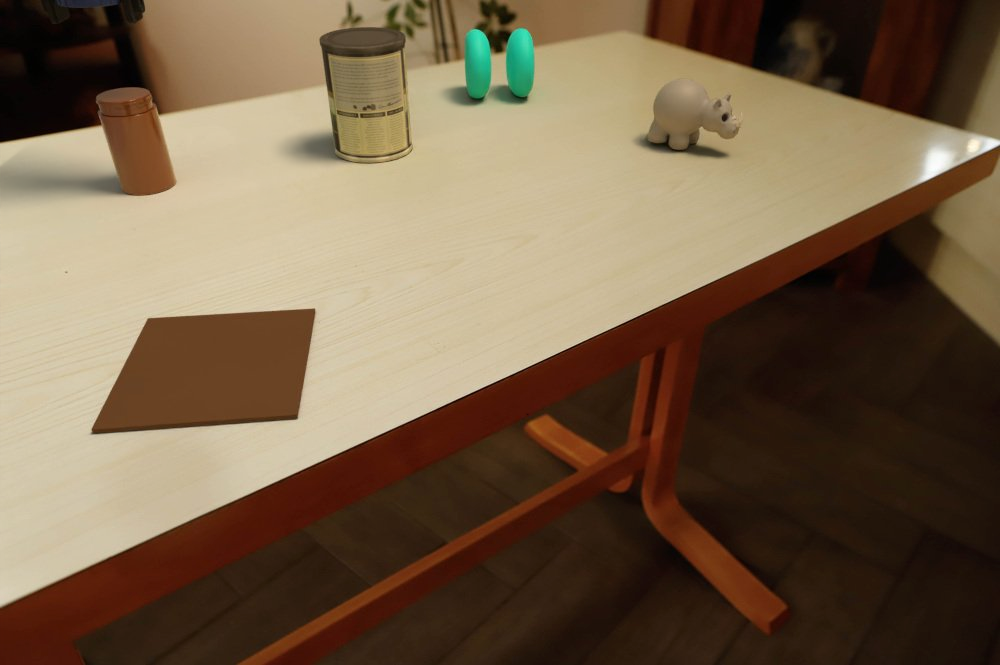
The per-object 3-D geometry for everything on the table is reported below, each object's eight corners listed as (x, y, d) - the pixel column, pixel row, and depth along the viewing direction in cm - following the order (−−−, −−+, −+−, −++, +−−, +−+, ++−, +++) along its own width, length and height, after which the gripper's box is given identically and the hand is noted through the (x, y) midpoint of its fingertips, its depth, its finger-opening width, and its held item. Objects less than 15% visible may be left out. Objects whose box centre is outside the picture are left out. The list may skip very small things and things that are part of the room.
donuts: (464, 88, 118) (463, 22, 112) (525, 86, 119) (526, 21, 113) (469, 107, 110) (468, 38, 104) (534, 105, 110) (536, 36, 105)
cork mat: (92, 433, 50) (90, 429, 50) (149, 321, 62) (147, 317, 61) (297, 418, 52) (296, 414, 51) (315, 312, 63) (315, 308, 63)
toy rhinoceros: (722, 166, 91) (735, 98, 86) (638, 144, 97) (646, 80, 92) (745, 150, 95) (759, 85, 90) (664, 130, 101) (673, 68, 96)
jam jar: (115, 196, 82) (85, 104, 76) (129, 176, 87) (101, 87, 81) (170, 193, 83) (145, 101, 77) (180, 173, 88) (157, 85, 82)
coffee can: (319, 147, 95) (303, 35, 87) (383, 130, 101) (374, 22, 93) (362, 170, 89) (349, 51, 81) (428, 150, 95) (422, 37, 87)
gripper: (152, -190, 68) (194, 13, 78) (-44, -194, 67) (25, 13, 77) (126, -192, 62) (175, 28, 72) (-90, -197, 60) (-8, 29, 71)
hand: (98, 19), depth 74 cm, fingers closed on jar lid, 6 cm apart
